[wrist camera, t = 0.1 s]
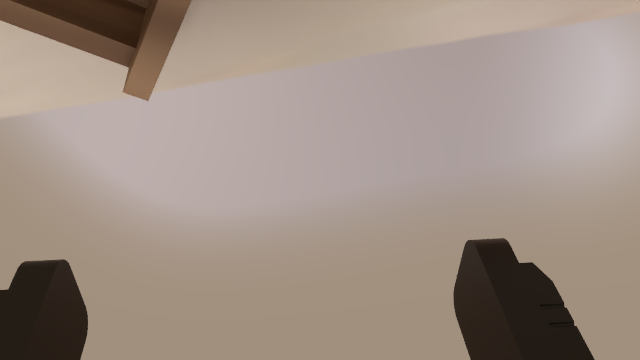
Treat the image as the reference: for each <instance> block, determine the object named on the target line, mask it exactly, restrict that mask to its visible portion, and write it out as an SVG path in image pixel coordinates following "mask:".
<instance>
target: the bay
mask: <svg viewBox="0 0 640 360" xmlns="http://www.w3.org/2000/svg"><path fill="white" fill-rule="evenodd" d="M190 2H191V0H0V20H1V21H4V22H7V23H9V24H12V25H15V26H18V27H20V28H23V29H26V30H28V31H31V32H34V33H37V34H39V35H42V36H45V37H48V38H50V39H53V40H56V41H58V42H61V43H64V44H67V45H69V46H72V47H75V48H78V49H80V50H83V51H86V52H88V53H91V54H94V55H97V56H99V57H102V58H105V59H108V60H110V61H113V62H116V63H118V64H121V65H124V66H127V67H129V70H128V74H127V78H126V82H125V86H124V90H123V92H124V93H127V94H130V95H132V96H135V97H139V98H141V99H144V100H147V101H148V100H149V98H150V95H151V93H152V91H153V88H154V86H155V84H156V81H157V79H158V77H159V74H160V72H161V70H162V67H163V65H164V63H165V60H166V58H167V56H168V53H169V51H170V49H171V46H172V44H173V42H174V39H175V37H176V35H177V32H178V30H179V28H180V26H181V23H182V21H183V19H184V16H185V14H186V12H187V9H188V7H189V5H190Z"/></svg>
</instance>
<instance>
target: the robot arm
mask: <svg viewBox="0 0 640 360" xmlns="http://www.w3.org/2000/svg"><path fill="white" fill-rule="evenodd" d="M454 308H455V313H456V317H457V320H458V323H459V326H460V329H461V332H462V335H463V338H464V341H465V344H466V347H467V350H468V353H469V356H470V359H471V360H594V358H593V356H592V354H591V352H590V350H589V348H588V347H587V345H586V343H585V341H584V340H583V337H582V335H581V333H580V332H579V330H578V328H577V326H574V320H573V319H572V317H571V315H570V313H569V311H568V310H567V308H565V307H564V302H563V300H562V298H561V296H560V294H559V293H558V291H557V289H556V287H555V285H554V283H553V281H552V280H550V278H548V277H547V276H546V275H545V274H544V273H543V272H542V271H541V270H540V269H539V268H538V267H537V266H536V265H534V264H533V263H519V262H518V260H517V258H516V256H515V254H514V252H513V250H512V248H511V246H510V244H509V242H508V241H507V240H506V239H504V238H501V239H483V240H482V239H481V240H468V241H467V242H466V244H465V247H464V250H463V254H462V258H461V262H460V267H459V271H458V275H457V279H456V283H455V287H454ZM87 330H88V316H87V310H86V306H85V304H84V301H83V298H82V296H81V293H80V291H79V288H78V285H77V283H76V280H75V278H74V275H73V272H72V270H71V267H70V265H69V263H68V262H67V261H66V260H45V261H25V262H23V263H22V264H21V265H20V266H19V268H18V269H17V272H16V274H15V276H14V278H13V280H12V282H11V285H10V287H9V289H8V290H0V360H80V358H81V355H82V352H83V347H84V344H85V341H86V337H87Z"/></svg>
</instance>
